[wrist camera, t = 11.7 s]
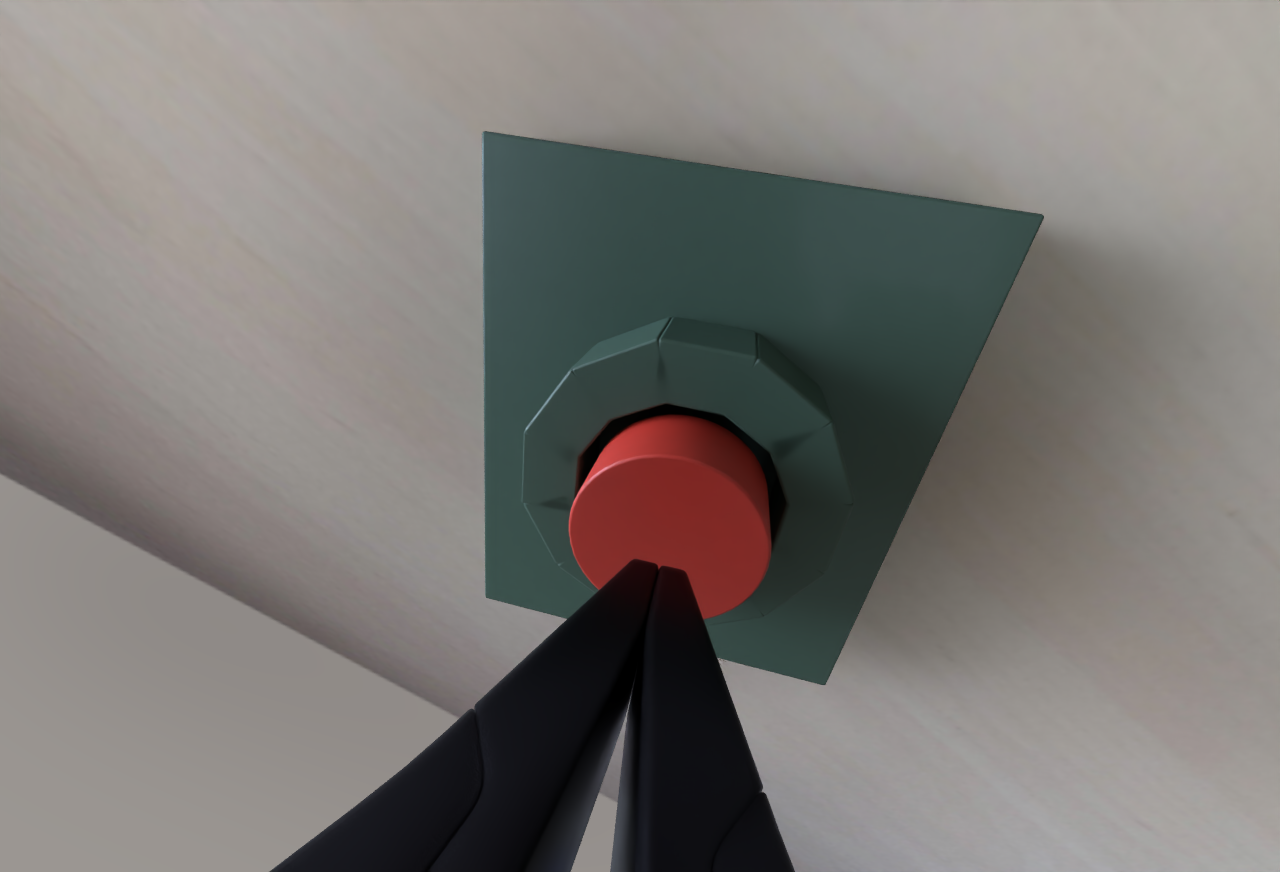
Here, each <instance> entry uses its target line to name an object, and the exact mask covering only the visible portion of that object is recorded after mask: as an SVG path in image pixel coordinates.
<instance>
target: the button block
mask: <svg viewBox="0 0 1280 872" xmlns="http://www.w3.org/2000/svg"><path fill="white" fill-rule="evenodd" d="M482 183H483V320H484V458H485V595H486V598H489V599H493V600H497V601H501V602H505V603H509V604H513V605H516V606H520V607H524V608H528V609H532V610H536V611H540V612H543V613H547V614H551V615H555V616H559V617H563V618H566V619H568V618H569V617H570V616H571V615H572V614H574V613H575V612H576V611H577V610H578V609H579V608H580V607H581V606H582V605H583V604H584V603H585V602H587V601H588V600H589V599H590V598H591V597H592V596H593V595H594V594H595V593H596V592H597V591H598V589H597V588H596V587H595V586H594V585H593V584H592V583H591V582H590V580H589V579H588V578H587V576H586V575H585V574H584V573H583V571H582V569H581V568H580V566H579V564H578V563H577V560H576V558H575V556H574V554H573V550H572V547H571V543H570V536H569V517H570V511H571V508H572V505H573V502H574V500H575V498H576V496H577V494H578V492H579V490H580V489H581V487H582V485H583V483H584V482H585V480H586V478H587V476H588V475H589V473H590V471H591V469H592V468H593V466H594V464H595V462H596V460H597V459H598V457H599V455H600V453H601V452H602V450H603V448H604V447H605V446H606V444H607V443H608V442H609V441H610V440H611V439H612V438H613V437H614V436H615V435H616V434H617V433H618V432H620V431H621V430H622V429H624V428H625V427H627V426H629V425H631V424H632V423H634V422H637V421H639V420H642V419H645V418H649V417H653V416H657V415H668V414H678V415H688V416H695V417H698V418H702V419H706V420H708V421H711V422H713V423H716V424H718V425H720V426H722V427H723V428H725V429H727V430H729V431H730V432H732V433H733V434H734V435H736V436H737V437H738V438H739V439H741V440H742V441H743V442H744V443H745V444H746V445H747V446H748V447H749V449H750V450H751V451H752V452H753V454H754V455H755V456H756V458H757V460H758V461H759V463H760V465H761V467H762V470H763V472H764V474H765V478H766V482H767V488H768V499H769V515H770V530H771V558H770V562H769V567H768V569H767V572H766V574H765V576H764V579H763V580H762V582H761V583H760V585H759V586H758V588H757V589H756V590H755V591H754V593H753V594H752V595H751V596H750V597H749V598H748V599H746V600H745V601H744V602H743V603H742V604H740V605H739V606H737V607H735V608H734V609H732V610H730V611H728V612H726V613H724V614H721V615H718V616H715V617H712V618H708V619H703V620H704V622H705V625H706V628H707V631H708V634H709V636H710V639H711V642H712V645H713V648H714V651H715V653H716V656H717V658H721V659H724V660H728V661H732V662H736V663H740V664H744V665H748V666H751V667H755V668H759V669H763V670H767V671H771V672H774V673H778V674H782V675H786V676H790V677H794V678H798V679H801V680H805V681H809V682H813V683H817V684H821V685H826V682H827V680H828V678H829V676H830V674H831V672H832V670H833V667H834V665H835V663H836V661H837V659H838V657H839V655H840V652H841V650H842V648H843V646H844V644H845V642H846V640H847V638H848V635H849V633H850V631H851V629H852V627H853V625H854V623H855V620H856V618H857V616H858V614H859V612H860V610H861V608H862V605H863V603H864V601H865V599H866V597H867V595H868V593H869V590H870V588H871V586H872V584H873V582H874V580H875V578H876V576H877V573H878V571H879V569H880V567H881V565H882V563H883V561H884V558H885V556H886V554H887V552H888V550H889V548H890V546H891V543H892V541H893V539H894V537H895V535H896V533H897V531H898V528H899V526H900V524H901V522H902V520H903V518H904V516H905V514H906V511H907V509H908V507H909V505H910V503H911V501H912V499H913V496H914V494H915V492H916V490H917V488H918V486H919V484H920V481H921V479H922V477H923V475H924V473H925V471H926V469H927V467H928V464H929V462H930V460H931V458H932V456H933V454H934V452H935V449H936V447H937V445H938V443H939V441H940V439H941V437H942V434H943V432H944V430H945V428H946V426H947V424H948V422H949V419H950V417H951V415H952V413H953V411H954V409H955V407H956V405H957V402H958V400H959V398H960V396H961V394H962V392H963V390H964V387H965V385H966V383H967V381H968V379H969V377H970V375H971V372H972V370H973V368H974V366H975V364H976V362H977V360H978V357H979V355H980V353H981V351H982V349H983V347H984V345H985V343H986V340H987V338H988V336H989V334H990V332H991V330H992V328H993V325H994V323H995V321H996V319H997V317H998V315H999V313H1000V310H1001V308H1002V306H1003V304H1004V302H1005V300H1006V298H1007V295H1008V293H1009V291H1010V289H1011V287H1012V285H1013V283H1014V281H1015V278H1016V276H1017V274H1018V272H1019V270H1020V268H1021V266H1022V263H1023V261H1024V259H1025V257H1026V255H1027V253H1028V251H1029V248H1030V246H1031V244H1032V242H1033V240H1034V238H1035V236H1036V233H1037V231H1038V229H1039V227H1040V225H1041V223H1042V221H1043V219H1044V216H1043V215H1042V214H1036V213H1030V212H1023V211H1016V210H1010V209H1003V208H996V207H990V206H983V205H976V204H969V203H963V202H956V201H949V200H943V199H936V198H929V197H922V196H916V195H909V194H902V193H896V192H889V191H882V190H876V189H869V188H862V187H855V186H849V185H842V184H835V183H829V182H822V181H815V180H809V179H802V178H795V177H788V176H782V175H775V174H768V173H762V172H755V171H748V170H741V169H735V168H728V167H721V166H715V165H708V164H701V163H695V162H688V161H681V160H674V159H668V158H661V157H654V156H648V155H641V154H634V153H628V152H621V151H614V150H607V149H601V148H594V147H587V146H581V145H574V144H567V143H560V142H554V141H547V140H540V139H534V138H527V137H520V136H514V135H507V134H500V133H493V132H487V131H485V132H483V133H482Z"/></svg>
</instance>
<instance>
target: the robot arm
mask: <svg viewBox="0 0 1280 872" xmlns="http://www.w3.org/2000/svg"><path fill="white" fill-rule="evenodd" d="M631 693H632V694H631ZM630 697H631V699H630ZM629 701H630V705H629ZM628 705H629V710H628V716H627V723H626V731H625V740H624V749H623V759H622V768H621V777H620V787H619V796H618V805H617V806H618V807H617V815H616V824H615V834H614V843H613V852H612V862H611V871H610V872H795V871H794V868H793V865H792V863H791V860H790V858H789V855H788V852H787V850H786V847H785V845H784V842H783V839H782V837H781V834H780V832H779V829H778V826H777V823H776V821H775V818H774V815H773V812H772V809H771V807H770V804H769V801H768V798H767V795H766V794H765V793H763V792H762V789H763V785H762V782H761V779H760V777H759V774H758V771H757V768H756V765H755V763H754V760H753V757H752V754H751V751H750V749H749V746H748V743H747V740H746V737H745V735H744V732H743V729H742V726H741V723H740V721H739V718H738V715H737V712H736V709H735V707H734V704H733V701H732V698H731V695H730V693H729V690H728V687H727V684H726V681H725V679H724V676H723V673H722V670H721V667H720V665H719V662H718V659H717V656H716V653H715V651H714V648H713V645H712V642H711V639H710V636H709V634H708V631H707V628H706V625H705V622H704V620H703V617H702V614H701V611H700V608H699V606H698V603H697V600H696V597H695V594H694V592H693V589H692V586H691V583H690V580H689V578H688V575H687V573H686V572H685V571H684V570H681V569H677V568H673V567H669V566H665V565H663V566H661V567H660V568H659V570H658V565H657V564H656V563H652V562H648V561H644V560H640V559H633V560H631V561H630V562H629V563H628V564H627V565H625V566H624V567H623V568H622V569H621V570H620V571H619V572H618V573H617V574H616V575H615V576H614V577H613V578H611V579H610V580H609V581H608V582H607V583H606V584H605V585H604V586H603V587H602V588H601V589H600V590H598V591H597V592H596V593H595V594H594V595H593V596H592V597H591V598H590V599H589V600H588V601H587V602H585V603H584V604H583V605H582V606H581V607H580V608H579V609H578V610H577V611H576V612H575V613H574V614H572V615H571V616H570V617H569V618H568V619H567V620H566V621H565V622H564V623H563V624H562V625H561V626H559V627H558V628H557V629H556V630H555V631H554V632H553V633H552V634H551V635H550V636H549V637H548V638H546V639H545V640H544V641H543V642H542V643H541V644H540V645H539V646H538V647H537V648H536V649H535V650H533V651H532V652H531V653H530V654H529V655H528V656H527V657H526V658H525V659H524V660H523V661H522V662H520V663H519V664H518V665H517V666H516V667H515V668H514V669H513V670H512V671H511V672H510V673H509V674H508V675H506V676H505V677H504V678H503V679H502V680H501V681H500V682H499V683H498V684H497V685H496V686H495V687H493V688H492V689H491V690H490V691H489V692H488V693H487V694H486V695H485V696H484V697H483V698H482V699H480V700H479V701H478V702H477V703H476V704H475V710H473V709H469V710H468V711H467V712H466V713H465V714H464V715H463V716H462V717H461V718H459V719H458V720H457V722H455V723H454V724H453V725H452V726H451V727H450V728H449V729H448V730H447V731H446V732H444V733H443V734H442V735H441V736H440V737H439V738H438V739H436V740H435V741H434V742H433V743H432V744H431V745H430V746H428V747H427V748H426V749H425V750H424V751H423V752H422V753H420V754H419V755H418V756H417V757H416V758H415V759H414V760H412V761H411V762H410V763H409V764H408V765H407V766H406V767H404V768H403V769H402V770H401V771H399V772H398V773H397V774H396V775H394V776H393V777H392V778H390V779H389V780H388V781H387V782H385V783H384V784H383V785H382V786H380V787H379V788H378V789H377V790H375V791H374V792H373V793H372V794H370V795H369V796H368V797H366V798H365V799H364V800H363V801H361V802H360V803H359V804H358V805H356V806H355V807H354V808H353V809H351V810H350V811H349V812H347V813H346V814H345V815H343V816H342V817H341V818H339V819H338V820H337V821H335V822H334V823H333V824H332V825H330V826H329V827H328V828H326V829H325V830H324V831H322V832H321V833H320V834H319V835H317V836H316V837H315V838H313V839H312V840H310V841H309V842H308V843H306V844H305V845H304V846H302V847H301V848H300V849H299V850H297V851H296V852H295V853H293V854H292V855H291V856H289V857H288V858H287V859H285V860H284V861H283V862H282V863H280V864H279V865H277V866H276V867H275V868H274V869H272V870H271V871H270V872H570V871H571V869H572V866H573V863H574V860H575V857H576V855H577V852H578V849H579V846H580V844H581V841H582V838H583V835H584V832H585V829H586V827H587V824H588V821H589V818H590V815H591V812H592V810H593V807H594V804H595V801H596V798H597V796H598V793H599V790H600V787H601V784H602V782H603V779H604V776H605V773H606V770H607V767H608V765H609V762H610V759H611V756H612V753H613V751H614V748H615V745H616V742H617V739H618V736H619V734H620V731H621V728H622V725H623V722H624V719H625V716H626V712H627V709H628Z"/></svg>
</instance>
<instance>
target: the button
mask: <svg viewBox="0 0 1280 872" xmlns="http://www.w3.org/2000/svg"><path fill="white" fill-rule="evenodd" d="M569 536H570V543H571V547H572V550H573V554H574V556H575V558H576V560H577V563H578V564H579V566H580V568H581V569H582V571H583V573H584V574H585V575H586V576H587V578H588V579H589V580H590V582H591V583H592V584H593V585H594V586H595V587H596V588H597V589H598V590H600V589H601V588H602V587H603V586H604V585H605V584H606V583H607V582H608V581H609V580H610V579H611V578H613V577H614V576H615V575H616V574H617V573H618V572H619V571H620V570H621V569H622V568H623V567H624V566H625V565H627V564H628V563H629V562H630V561H631V560H633V559H640V560H644V561H648V562H652V563H656V564H657V565H658V570H659V568H660V567H661V566H663V565H665V566H669V567H673V568H677V569H681V570H684V571H685V572H686V573H687V575H688V578H689V580H690V583H691V586H692V589H693V592H694V594H695V597H696V600H697V603H698V606H699V608H700V611H701V614H702V617H703V619H708V618H712V617H715V616H718V615H721V614H724V613H726V612H728V611H730V610H732V609H734V608H735V607H737V606H739V605H740V604H742V603H743V602H744V601H745V600H746V599H748V598H749V597H750V596H751V595H752V594H753V593H754V591H755V590H756V589H757V588H758V586H759V585H760V583H761V582H762V580H763V579H764V576H765V574H766V572H767V569H768V567H769V562H770V558H771V530H770V515H769V499H768V488H767V482H766V478H765V474H764V472H763V470H762V467H761V465H760V463H759V461H758V460H757V458H756V456H755V455H754V454H753V452H752V451H751V450H750V449H749V447H748V446H747V445H746V444H745V443H744V442H743V441H742V440H741V439H739V438H738V437H737V436H736V435H734V434H733V433H732V432H730V431H729V430H727V429H725V428H723V427H722V426H720V425H718V424H716V423H713V422H711V421H708V420H706V419H702V418H698V417H695V416H688V415H678V414H668V415H657V416H653V417H649V418H645V419H642V420H639V421H637V422H634V423H632V424H631V425H629V426H627V427H625V428H624V429H622V430H621V431H620V432H618V433H617V434H616V435H615V436H614V437H613V438H612V439H611V440H610V441H609V442H608V443H607V444H606V446H605V447H604V448H603V450H602V452H601V453H600V455H599V457H598V459H597V460H596V462H595V464H594V466H593V468H592V469H591V471H590V473H589V475H588V476H587V478H586V480H585V482H584V483H583V485H582V487H581V489H580V490H579V492H578V494H577V496H576V498H575V500H574V502H573V505H572V508H571V511H570V517H569Z"/></svg>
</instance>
